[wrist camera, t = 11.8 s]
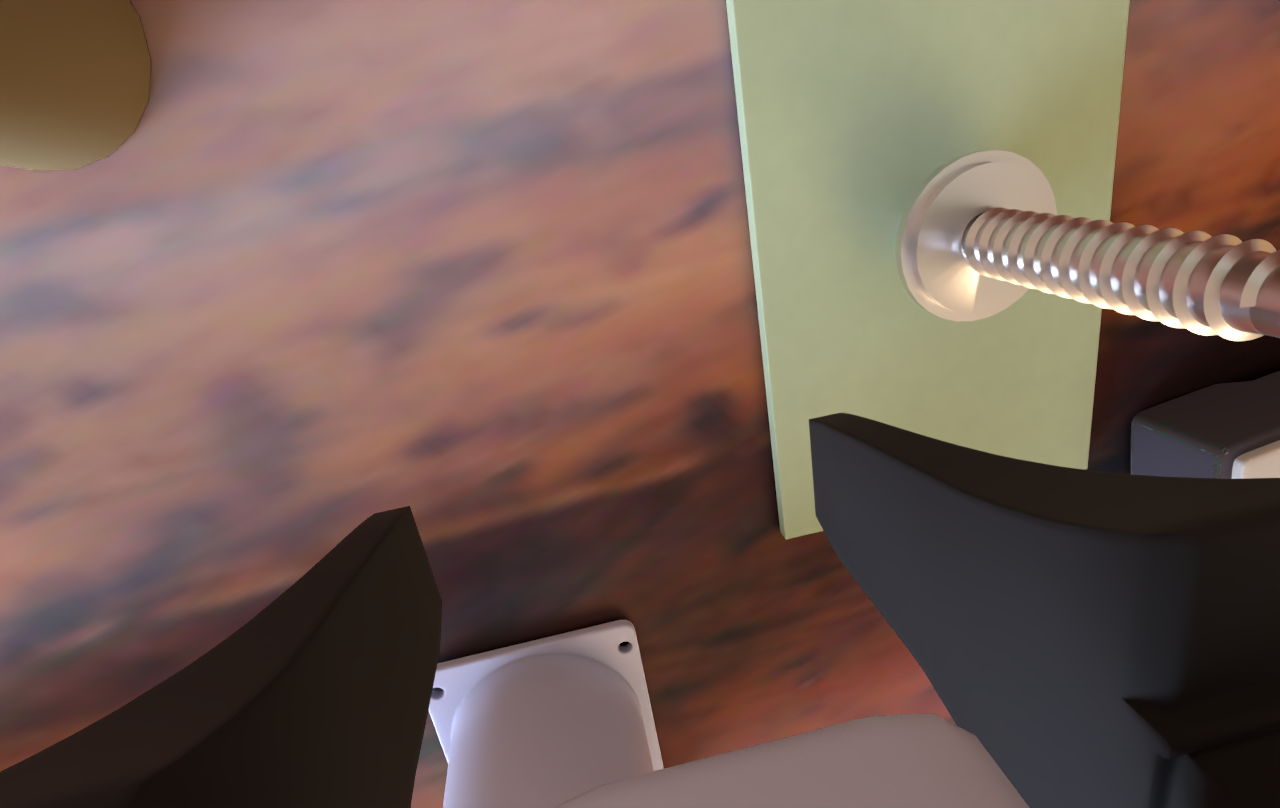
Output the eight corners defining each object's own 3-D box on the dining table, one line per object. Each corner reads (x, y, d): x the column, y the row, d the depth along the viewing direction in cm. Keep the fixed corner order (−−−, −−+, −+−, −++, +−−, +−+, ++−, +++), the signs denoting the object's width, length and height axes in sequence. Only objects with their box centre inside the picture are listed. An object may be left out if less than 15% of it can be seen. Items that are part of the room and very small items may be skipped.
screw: (1013, 138, 21) (1006, 292, 23) (864, 164, 20) (868, 319, 22) (1676, 121, 9) (1550, 452, 11) (1349, 184, 8) (1275, 518, 10)
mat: (1076, 462, 26) (1088, 469, 26) (779, 531, 25) (785, 540, 25) (1128, -171, 19) (1147, -181, 18) (713, -111, 18) (719, -119, 17)
